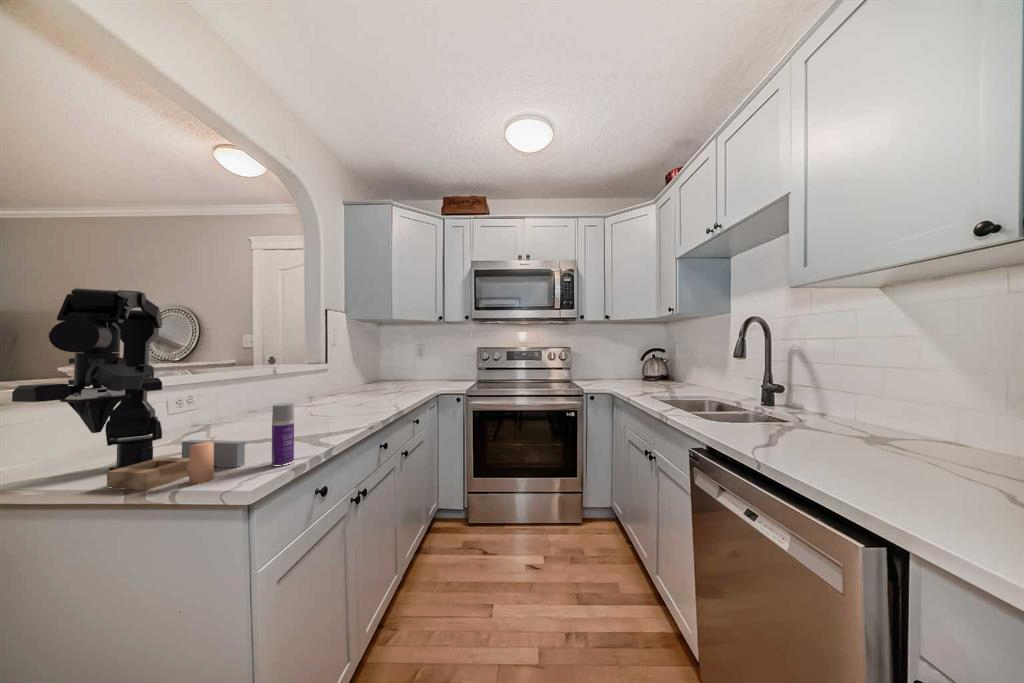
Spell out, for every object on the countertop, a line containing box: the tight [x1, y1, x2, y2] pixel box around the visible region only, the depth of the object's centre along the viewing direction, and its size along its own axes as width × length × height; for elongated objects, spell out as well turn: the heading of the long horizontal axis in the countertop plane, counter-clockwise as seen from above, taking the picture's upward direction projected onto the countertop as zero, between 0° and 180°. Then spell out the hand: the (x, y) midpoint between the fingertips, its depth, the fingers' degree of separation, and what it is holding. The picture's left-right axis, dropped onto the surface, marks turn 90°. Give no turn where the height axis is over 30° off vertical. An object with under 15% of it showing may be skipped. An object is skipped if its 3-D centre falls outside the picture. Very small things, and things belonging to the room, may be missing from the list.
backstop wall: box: [181, 439, 246, 468], centre depth 87 cm, size 16×2×6 cm, turn 82°
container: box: [271, 402, 295, 466], centre depth 88 cm, size 5×5×15 cm
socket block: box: [106, 456, 190, 491], centre depth 77 cm, size 10×10×4 cm
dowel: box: [188, 442, 215, 485], centre depth 77 cm, size 4×4×8 cm
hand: (96, 432), depth 68 cm, fingers closed
